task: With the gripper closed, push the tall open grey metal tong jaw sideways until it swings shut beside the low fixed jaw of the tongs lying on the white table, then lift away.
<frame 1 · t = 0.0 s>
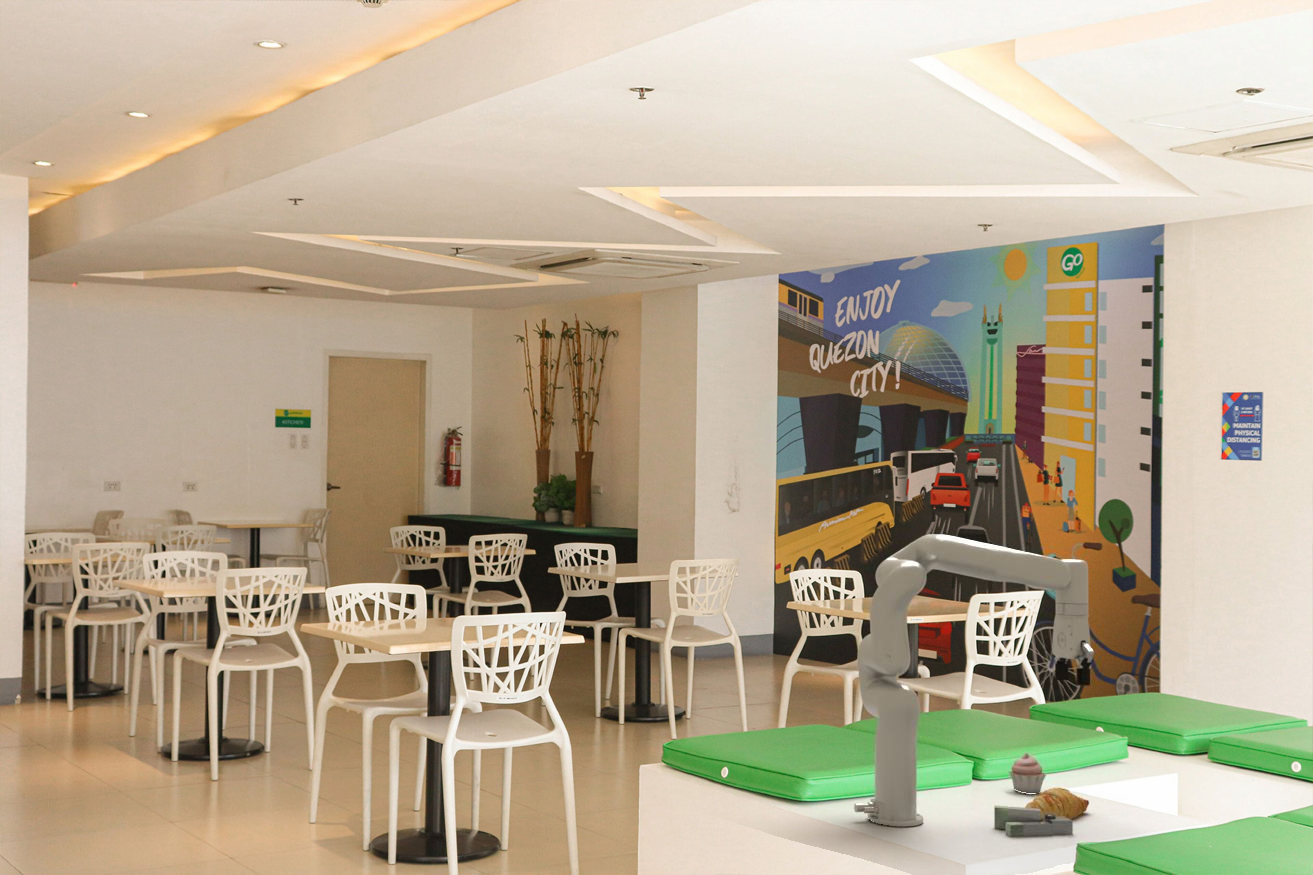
hand: (1072, 682, 299), 31 cm above the table, tool pointing down, fingers open, 9 cm apart
tongs fixed: (1057, 832, 280), on the table
croissant: (1054, 817, 296), on the table
cupcake: (1027, 792, 323), on the table
tongs jaw: (1017, 818, 282), point 3 cm above the table, hinge at 24.0°
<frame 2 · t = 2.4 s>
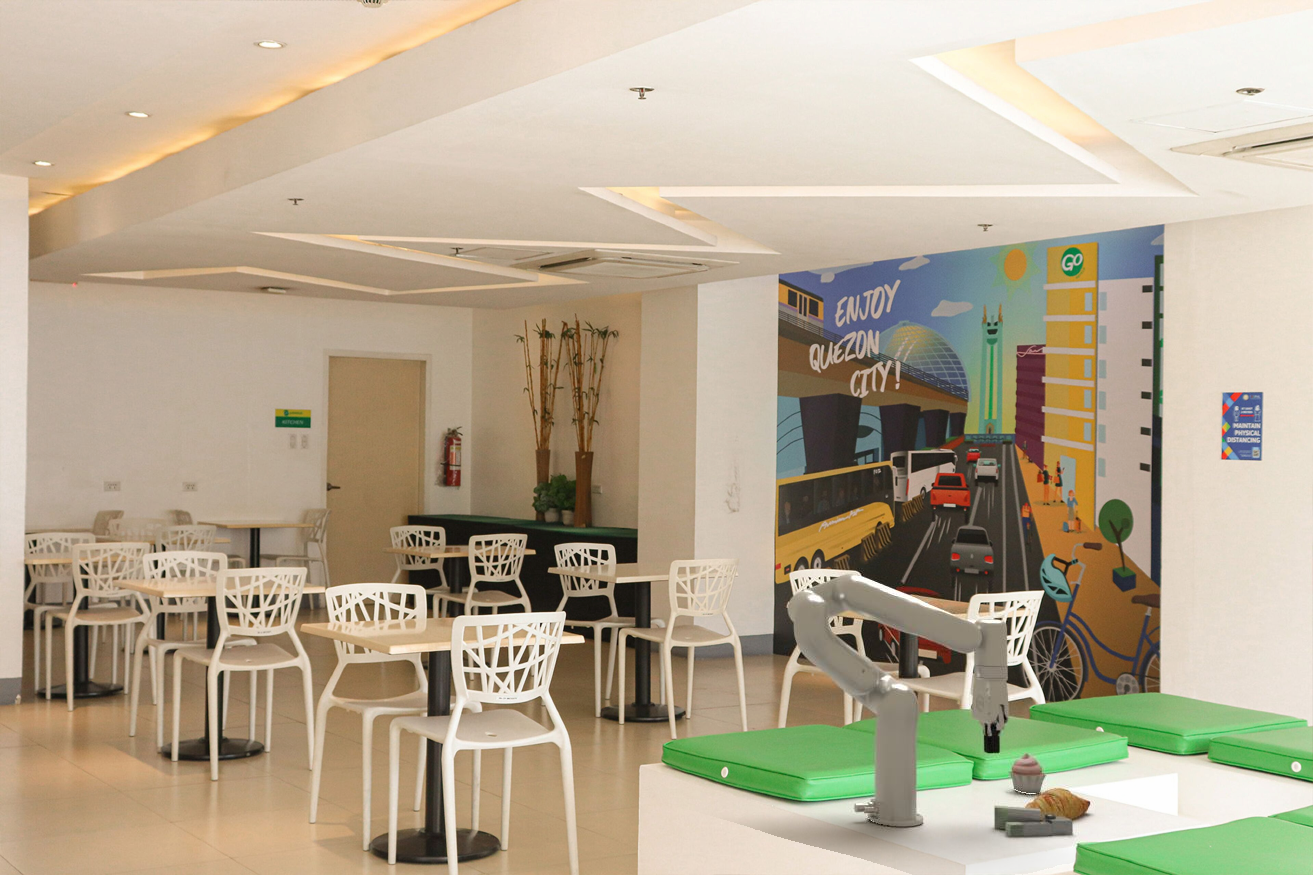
hand: (991, 752, 290), 16 cm above the table, tool pointing down, fingers closed
nothing on the table moved.
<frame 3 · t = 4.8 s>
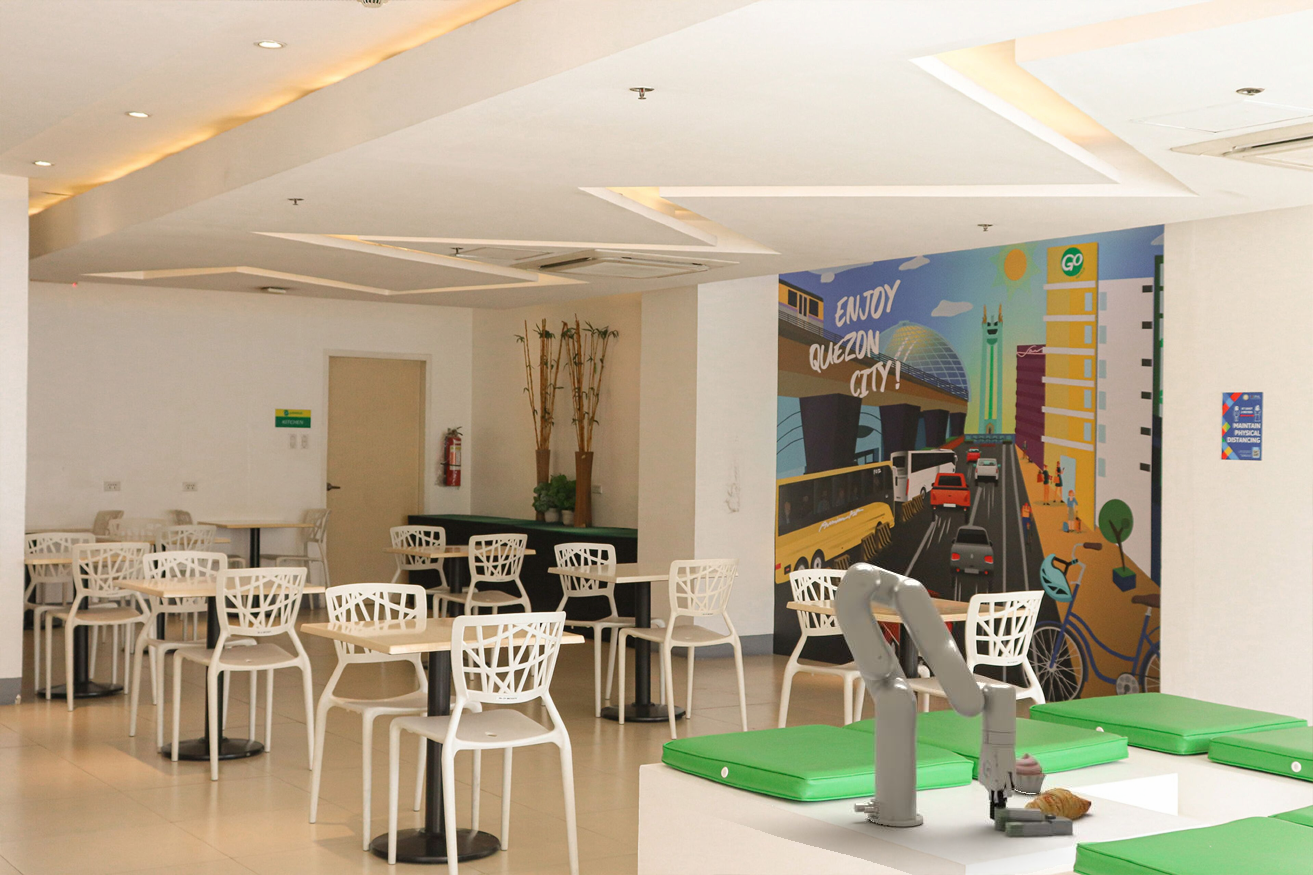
hand: (997, 819, 285), 1 cm above the table, tool pointing down, fingers closed
tongs jaw: (1018, 818, 281), point 2 cm above the table, hinge at 16.3°, touching gripper
everything else where it was.
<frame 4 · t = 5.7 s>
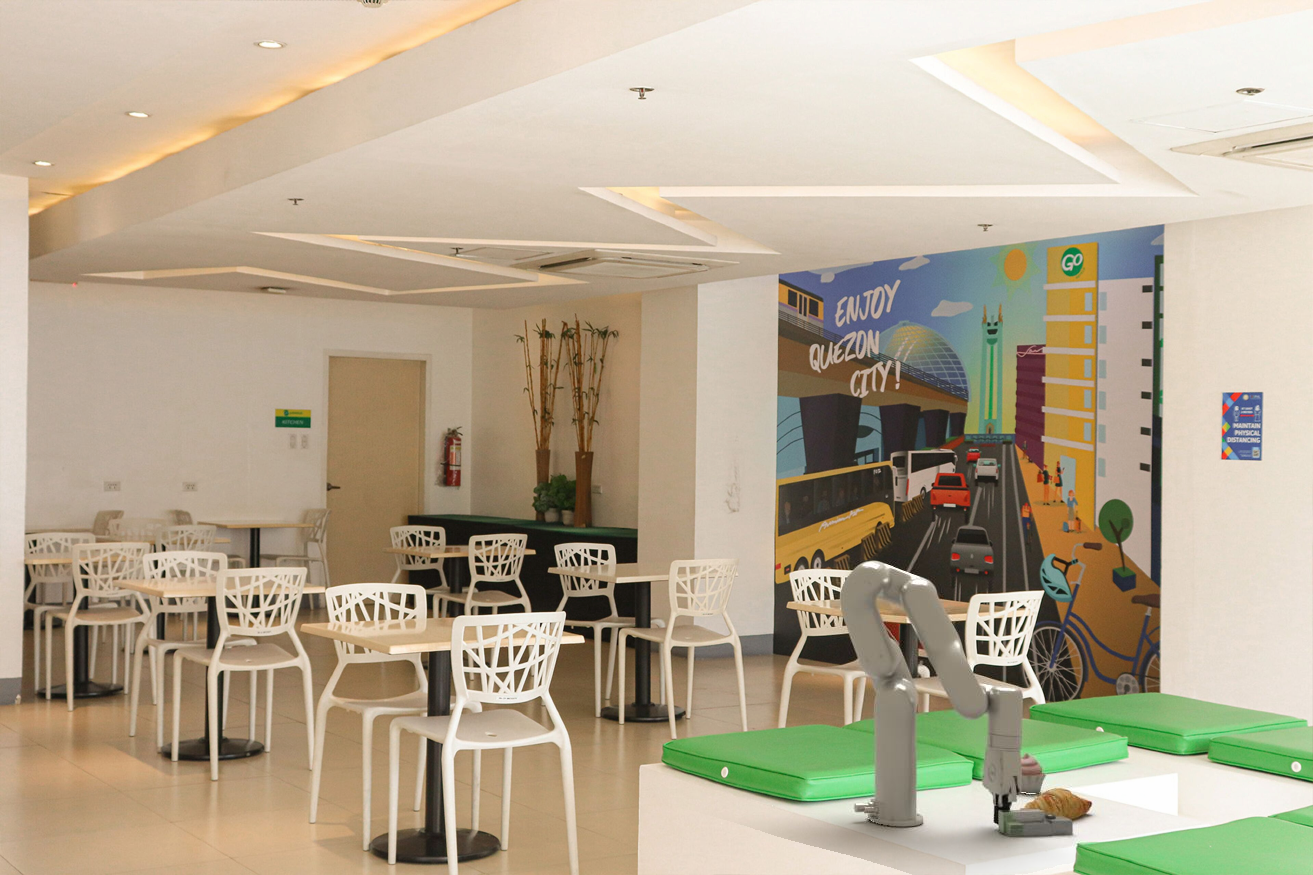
hand: (1001, 823, 282), 1 cm above the table, tool pointing down, fingers closed
tongs jaw: (1021, 820, 279), point 3 cm above the table, hinge at -2.3°, touching gripper, tongs fixed
everything else where it was.
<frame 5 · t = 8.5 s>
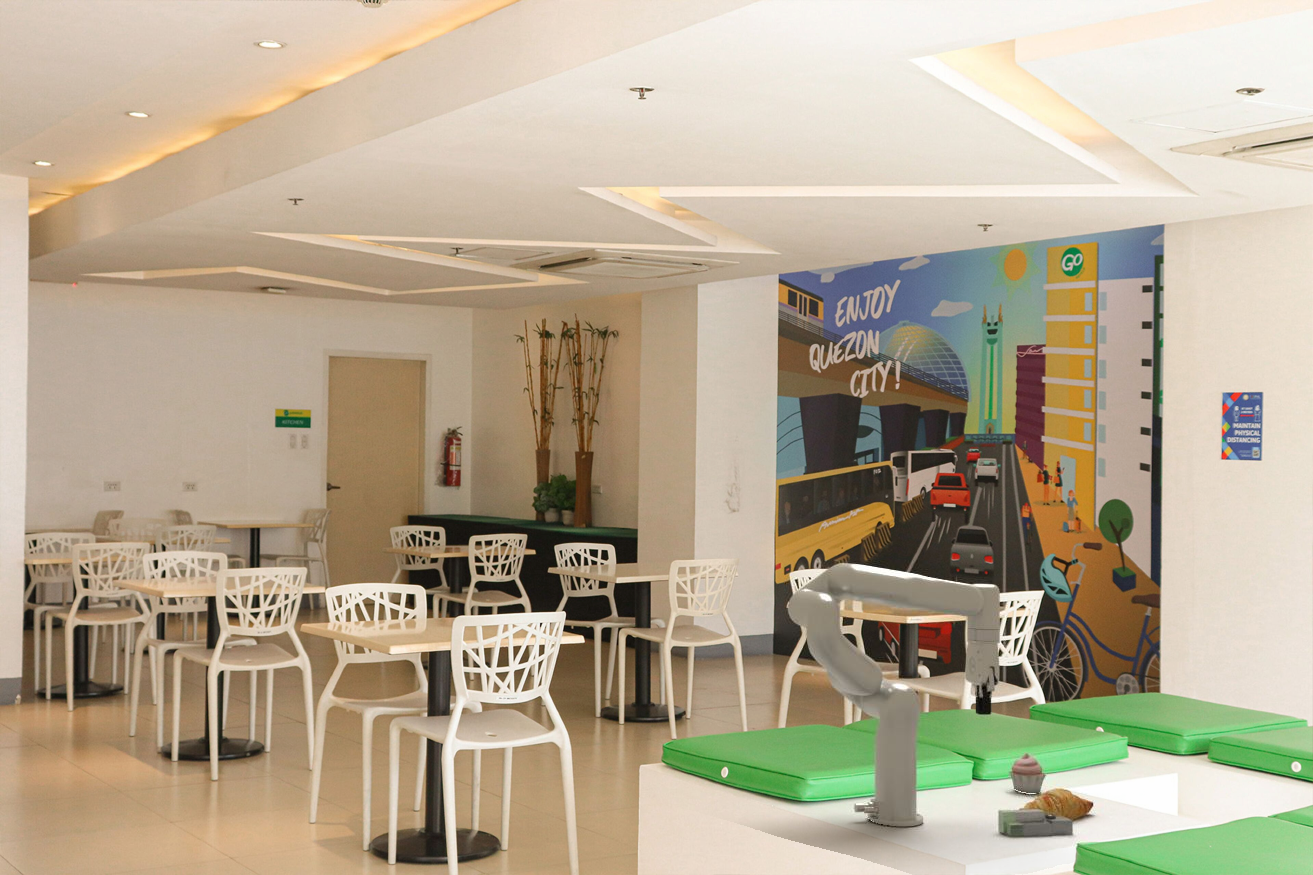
hand: (983, 713, 296), 24 cm above the table, tool pointing down, fingers closed
tongs jaw: (1021, 820, 279), point 2 cm above the table, hinge at -2.0°
everything else where it was.
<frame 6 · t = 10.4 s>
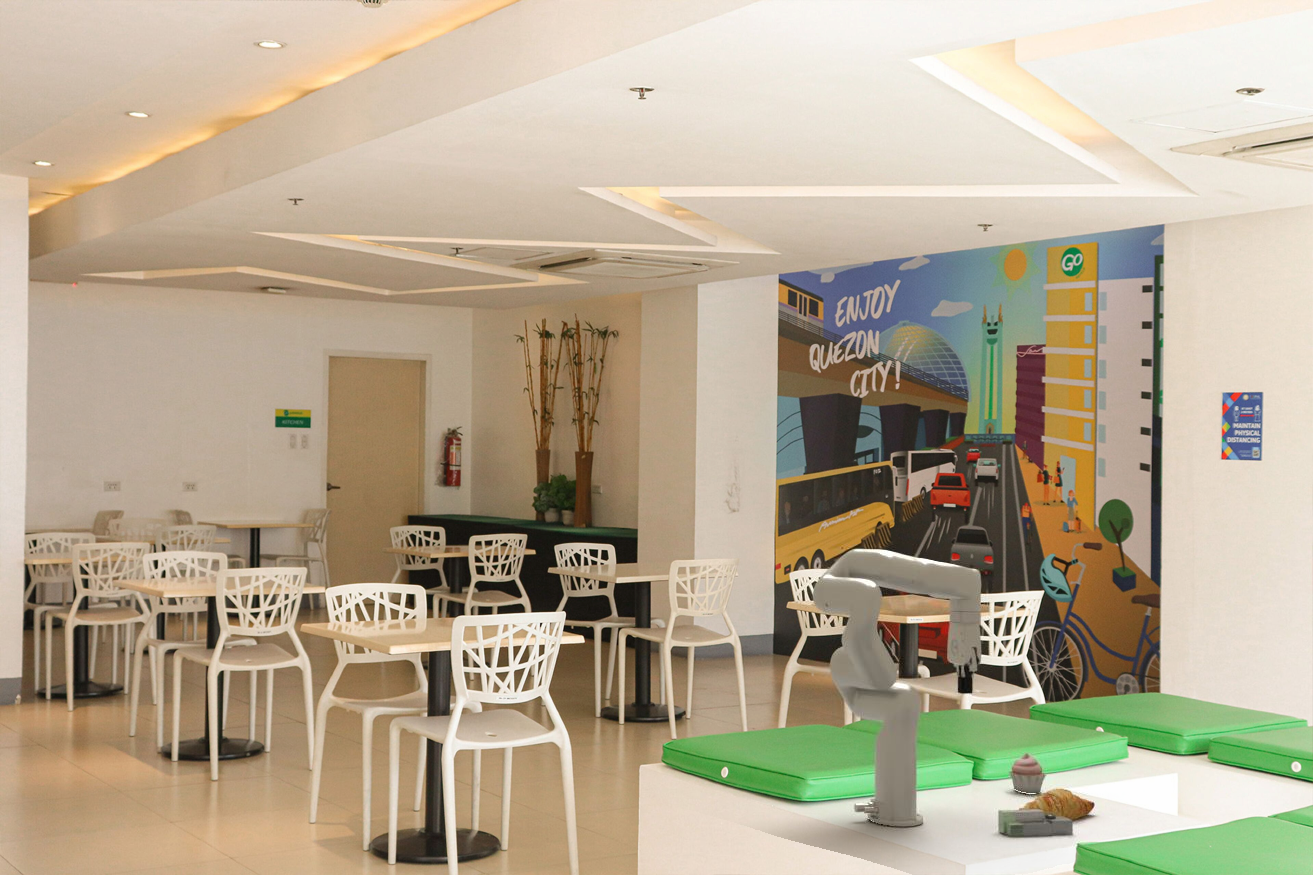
hand: (965, 692, 308), 27 cm above the table, tool pointing down, fingers closed
nothing on the table moved.
at the end: tongs jaw at -2° (first picture: +24°) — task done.
